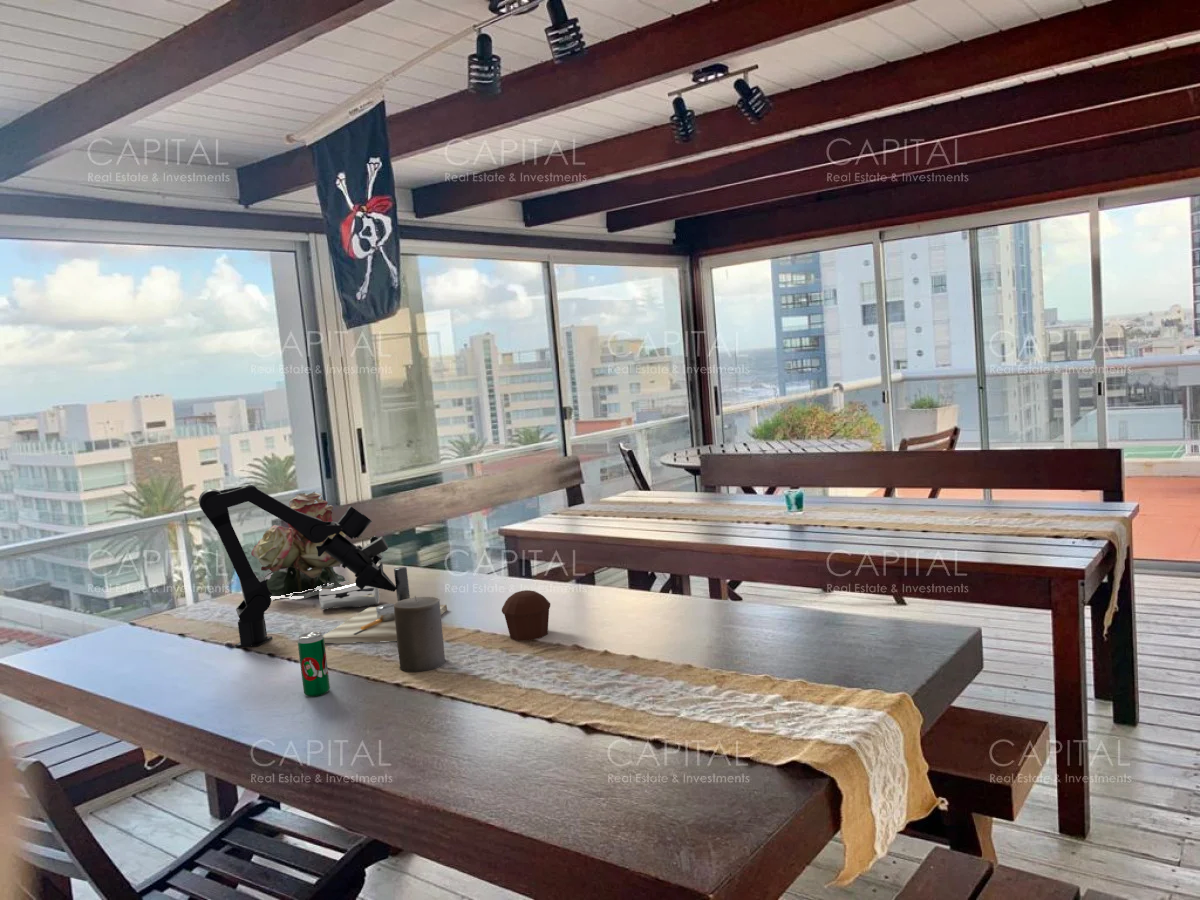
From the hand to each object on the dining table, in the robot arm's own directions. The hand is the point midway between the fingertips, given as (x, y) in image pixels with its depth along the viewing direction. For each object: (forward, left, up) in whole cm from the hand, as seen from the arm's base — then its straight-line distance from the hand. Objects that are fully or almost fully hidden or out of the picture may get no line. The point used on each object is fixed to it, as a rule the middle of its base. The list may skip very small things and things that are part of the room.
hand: (395, 589), depth 232 cm
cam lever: (-7, 0, -5) cm, 9 cm away
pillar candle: (-37, -22, -8) cm, 43 cm away
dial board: (-8, 0, -7) cm, 11 cm away
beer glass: (+10, +27, -4) cm, 29 cm away
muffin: (-18, -40, -8) cm, 44 cm away
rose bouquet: (+32, +42, -8) cm, 54 cm away
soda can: (-53, -6, -8) cm, 53 cm away
